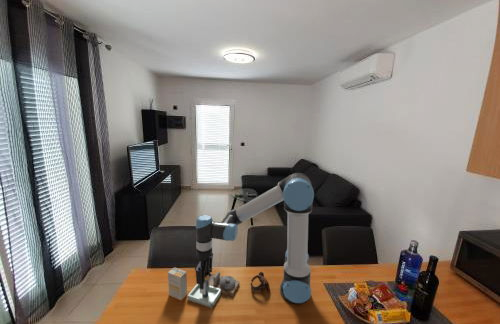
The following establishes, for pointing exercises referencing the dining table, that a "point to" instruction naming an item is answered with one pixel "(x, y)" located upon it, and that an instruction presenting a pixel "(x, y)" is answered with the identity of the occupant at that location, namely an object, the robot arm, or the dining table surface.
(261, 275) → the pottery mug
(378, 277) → the dining table surface
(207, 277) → the lock pin
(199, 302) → the tray
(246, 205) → the robot arm
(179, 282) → the supplement box
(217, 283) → the pulley block
